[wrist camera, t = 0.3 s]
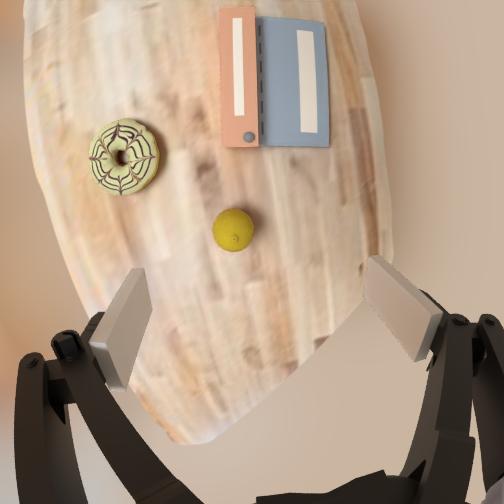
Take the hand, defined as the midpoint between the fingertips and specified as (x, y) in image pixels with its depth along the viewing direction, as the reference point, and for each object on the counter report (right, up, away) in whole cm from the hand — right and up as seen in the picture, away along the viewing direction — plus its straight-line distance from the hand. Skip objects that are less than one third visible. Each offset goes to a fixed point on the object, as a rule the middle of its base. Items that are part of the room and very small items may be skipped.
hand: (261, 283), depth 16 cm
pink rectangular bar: (-3, +26, +19) cm, 32 cm away
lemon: (-3, +6, +26) cm, 27 cm away
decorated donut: (-19, +16, +21) cm, 32 cm away
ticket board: (+5, +26, +19) cm, 33 cm away
